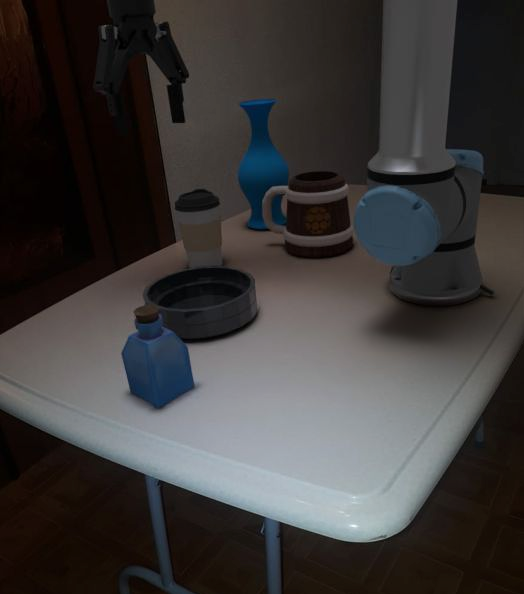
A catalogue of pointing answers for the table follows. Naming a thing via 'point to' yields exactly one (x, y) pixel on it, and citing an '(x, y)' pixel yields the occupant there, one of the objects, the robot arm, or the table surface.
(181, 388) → the perfume bottle
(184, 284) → the bowl
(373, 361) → the table surface
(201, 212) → the coffee cup
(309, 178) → the mug
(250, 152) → the vase
